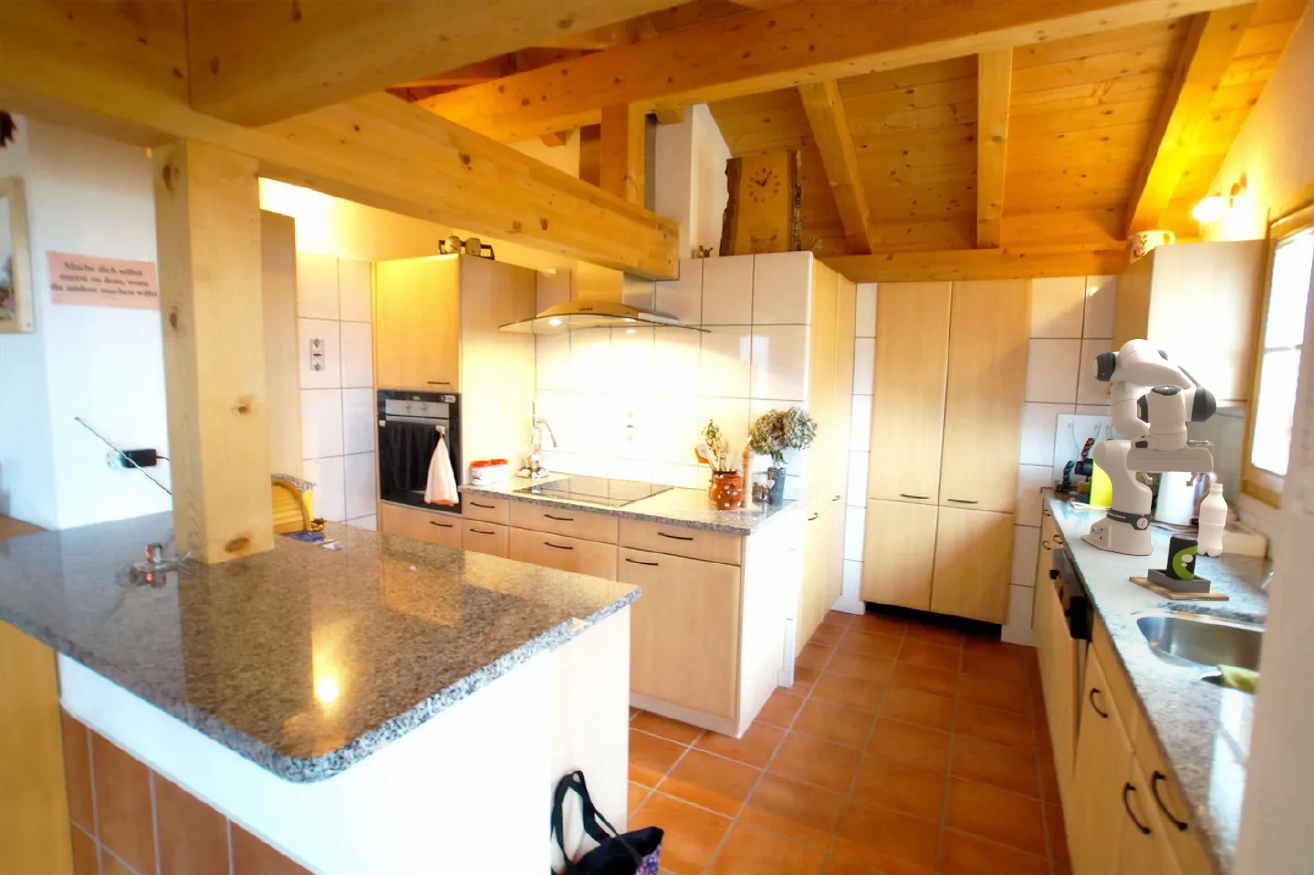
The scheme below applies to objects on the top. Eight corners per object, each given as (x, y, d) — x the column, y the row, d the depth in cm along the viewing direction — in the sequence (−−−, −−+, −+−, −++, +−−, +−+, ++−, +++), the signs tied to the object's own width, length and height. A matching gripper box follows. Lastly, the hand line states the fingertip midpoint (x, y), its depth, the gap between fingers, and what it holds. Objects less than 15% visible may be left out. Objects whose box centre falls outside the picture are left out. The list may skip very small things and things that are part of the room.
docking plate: (1129, 579, 192) (1129, 576, 191) (1180, 580, 192) (1180, 577, 192) (1172, 599, 176) (1173, 596, 176) (1228, 600, 176) (1229, 596, 176)
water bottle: (1227, 557, 215) (1236, 486, 212) (1207, 558, 215) (1216, 486, 212) (1207, 551, 222) (1217, 482, 219) (1188, 551, 222) (1197, 481, 219)
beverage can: (1166, 581, 188) (1172, 532, 186) (1193, 586, 184) (1199, 536, 182) (1162, 586, 184) (1169, 536, 182) (1190, 592, 179) (1197, 541, 177)
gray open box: (1146, 580, 189) (1148, 568, 188) (1179, 580, 189) (1181, 569, 188) (1174, 592, 179) (1176, 580, 178) (1209, 592, 179) (1210, 581, 178)
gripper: (1215, 437, 181) (1216, 483, 184) (1127, 437, 195) (1129, 480, 198) (1214, 443, 177) (1214, 490, 179) (1124, 443, 191) (1126, 486, 194)
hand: (1169, 484), depth 189 cm, fingers open, 8 cm apart
